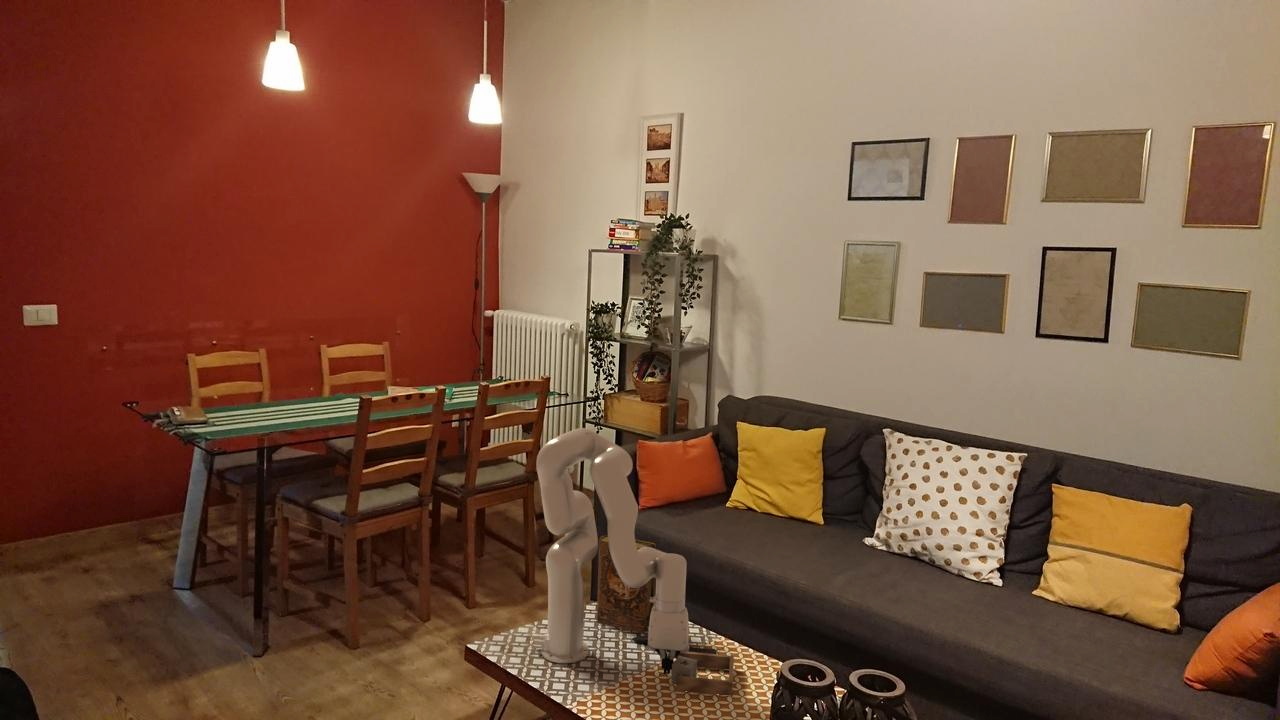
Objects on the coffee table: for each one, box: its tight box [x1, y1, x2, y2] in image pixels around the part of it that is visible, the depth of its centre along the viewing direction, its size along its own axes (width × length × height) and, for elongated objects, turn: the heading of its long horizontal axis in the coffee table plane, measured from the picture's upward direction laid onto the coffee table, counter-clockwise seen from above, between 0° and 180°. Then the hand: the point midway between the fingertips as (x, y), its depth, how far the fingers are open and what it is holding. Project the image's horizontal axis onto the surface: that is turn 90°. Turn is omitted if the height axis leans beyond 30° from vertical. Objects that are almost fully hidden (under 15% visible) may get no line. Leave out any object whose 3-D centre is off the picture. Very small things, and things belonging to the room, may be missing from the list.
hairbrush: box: [632, 635, 718, 659], centre depth 226 cm, size 8×4×25 cm
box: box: [675, 652, 735, 697], centre depth 211 cm, size 14×14×4 cm
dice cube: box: [670, 656, 698, 685], centre depth 210 cm, size 5×5×5 cm
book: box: [596, 534, 657, 634], centre depth 240 cm, size 16×6×25 cm, turn 66°
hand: (667, 671), depth 213 cm, fingers closed
